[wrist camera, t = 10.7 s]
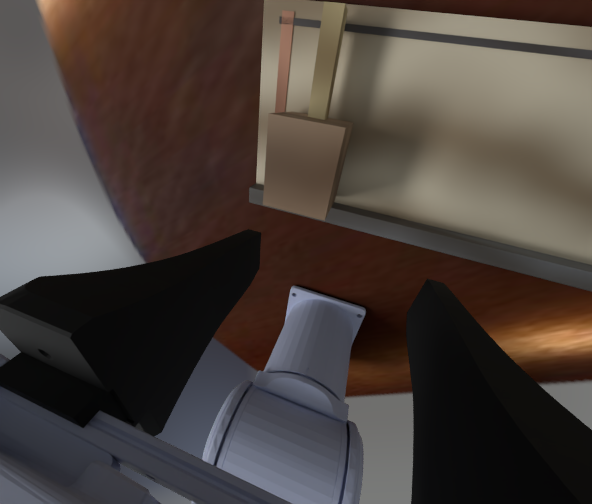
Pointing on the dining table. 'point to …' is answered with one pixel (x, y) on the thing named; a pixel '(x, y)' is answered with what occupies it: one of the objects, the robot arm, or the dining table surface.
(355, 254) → the dining table surface
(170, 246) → the dining table surface
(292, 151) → the marking gauge
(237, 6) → the dining table surface
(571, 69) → the cream flat tray
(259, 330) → the dining table surface
